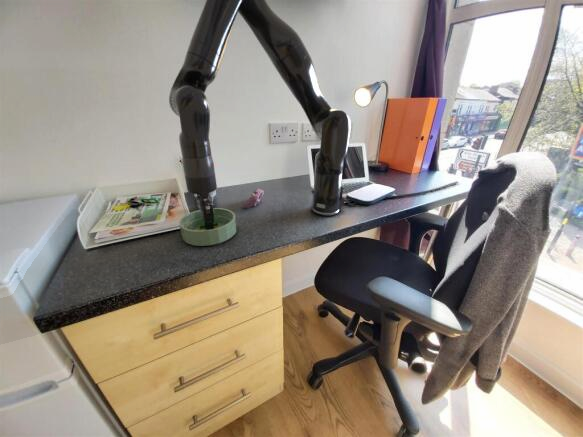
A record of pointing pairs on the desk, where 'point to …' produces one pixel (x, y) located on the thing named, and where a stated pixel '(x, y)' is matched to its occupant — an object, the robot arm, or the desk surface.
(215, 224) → the sponge
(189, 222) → the bowl
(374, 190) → the external hard drive
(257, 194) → the pink knobbly lump
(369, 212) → the desk surface
